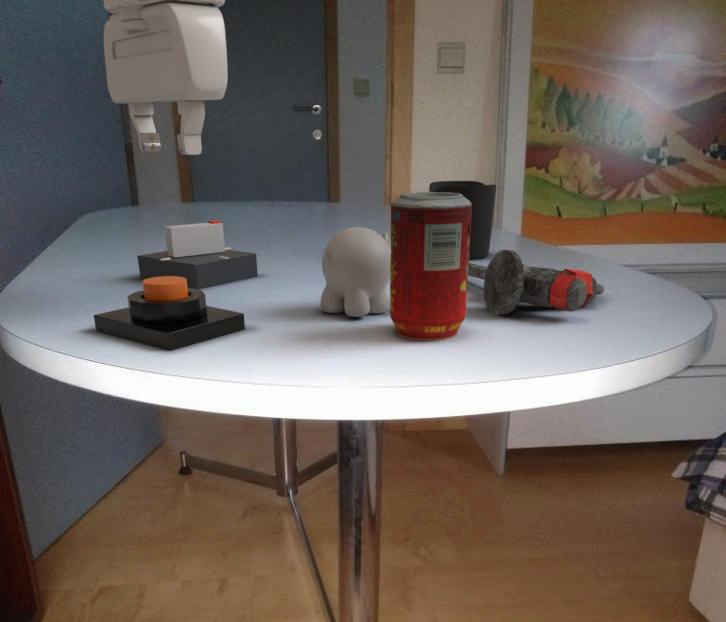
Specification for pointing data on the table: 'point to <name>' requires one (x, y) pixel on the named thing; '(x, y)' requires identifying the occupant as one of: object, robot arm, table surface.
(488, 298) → the valve
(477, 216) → the pen holder
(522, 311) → the table surface
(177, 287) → the button
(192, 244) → the selector knob
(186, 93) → the robot arm
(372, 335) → the table surface
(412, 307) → the soda can
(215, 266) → the block
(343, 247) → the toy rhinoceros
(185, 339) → the control block
